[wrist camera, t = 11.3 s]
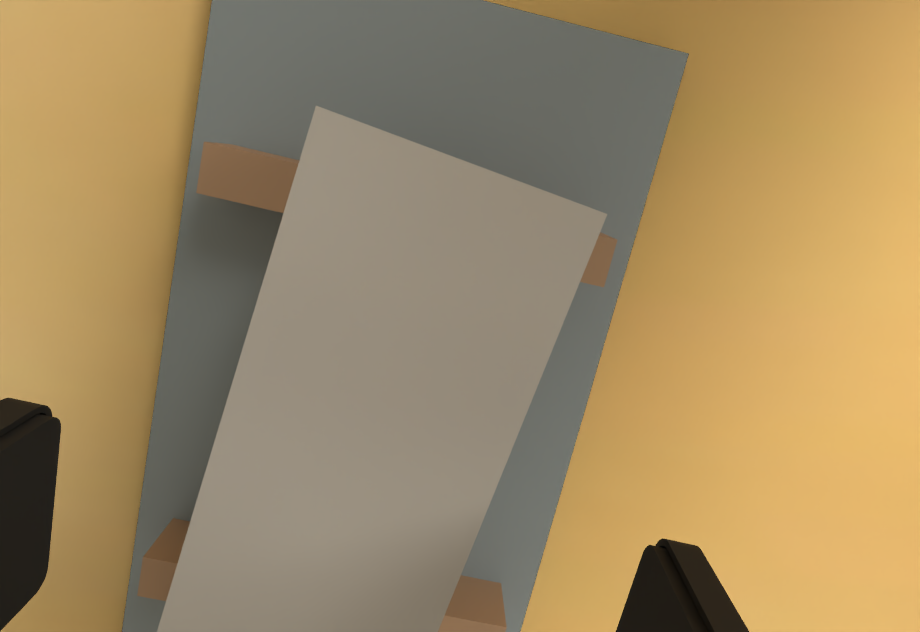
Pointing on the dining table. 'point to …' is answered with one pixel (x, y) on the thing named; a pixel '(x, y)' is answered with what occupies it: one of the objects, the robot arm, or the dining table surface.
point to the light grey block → (376, 388)
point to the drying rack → (440, 128)
